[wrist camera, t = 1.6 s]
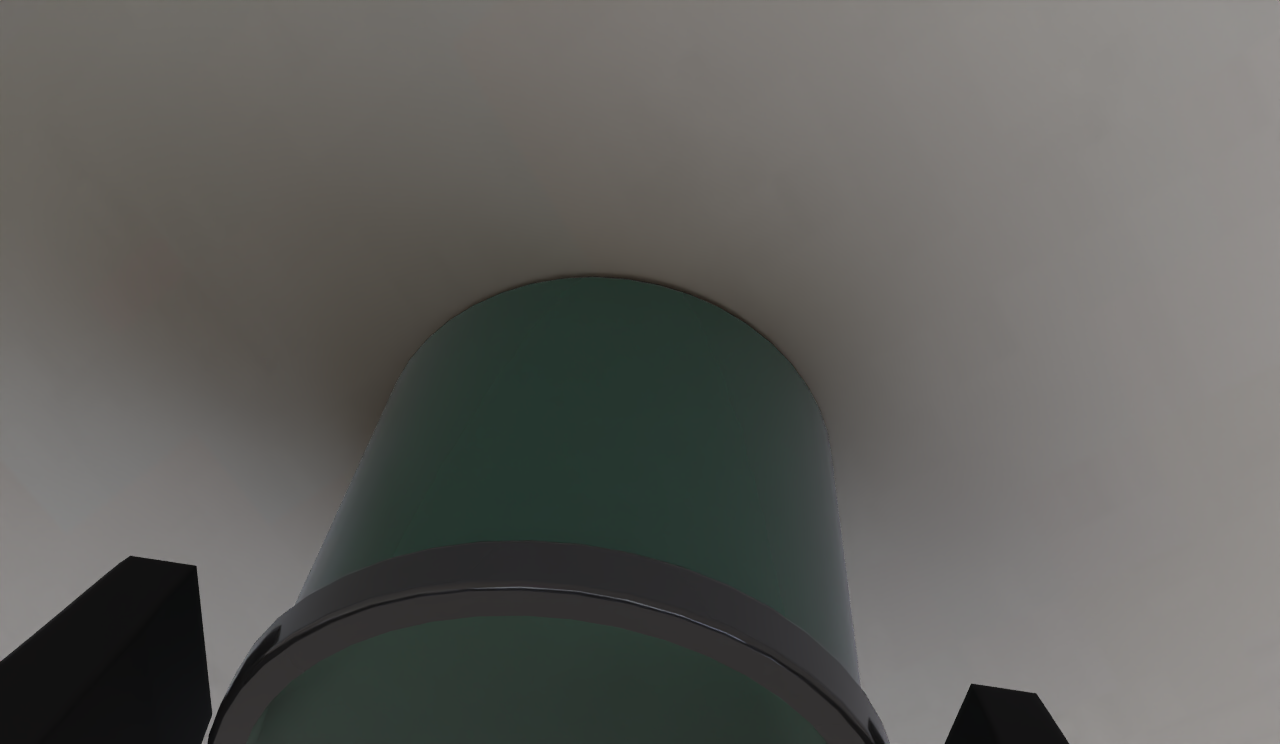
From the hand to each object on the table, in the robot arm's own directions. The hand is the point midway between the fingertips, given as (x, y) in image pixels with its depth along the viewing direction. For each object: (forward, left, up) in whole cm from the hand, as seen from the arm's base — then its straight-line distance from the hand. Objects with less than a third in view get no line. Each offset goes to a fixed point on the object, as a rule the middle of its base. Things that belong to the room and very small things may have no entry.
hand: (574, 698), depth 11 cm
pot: (0, 0, -3) cm, 3 cm away
